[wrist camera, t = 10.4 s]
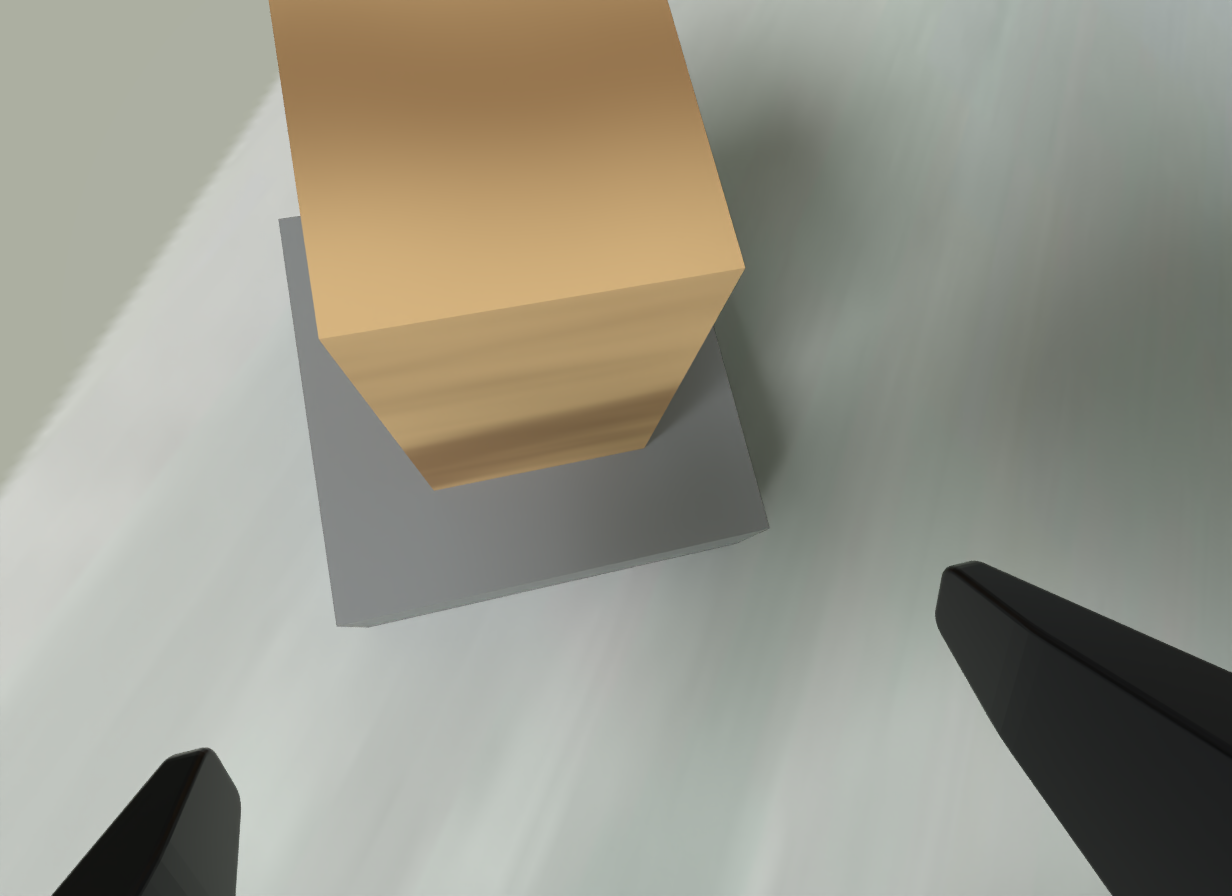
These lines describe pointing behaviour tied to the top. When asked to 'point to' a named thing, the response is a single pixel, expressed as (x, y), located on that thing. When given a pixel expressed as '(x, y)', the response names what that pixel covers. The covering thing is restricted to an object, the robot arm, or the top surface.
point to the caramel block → (504, 220)
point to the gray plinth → (510, 494)
